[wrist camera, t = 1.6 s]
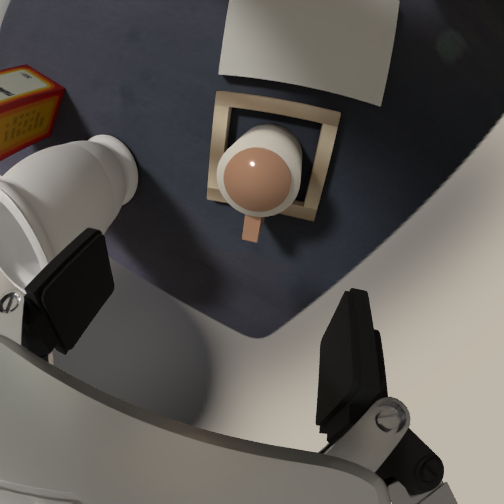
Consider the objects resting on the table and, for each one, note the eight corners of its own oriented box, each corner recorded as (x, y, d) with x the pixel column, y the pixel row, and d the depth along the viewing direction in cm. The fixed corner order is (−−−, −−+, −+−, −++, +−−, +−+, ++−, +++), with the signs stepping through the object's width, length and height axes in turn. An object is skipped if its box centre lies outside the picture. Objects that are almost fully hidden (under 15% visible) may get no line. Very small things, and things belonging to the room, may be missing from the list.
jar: (166, 169, 26) (63, 260, 14) (121, 228, 31) (43, 317, 19) (97, 105, 23) (-24, 155, 11) (64, 172, 28) (-27, 238, 16)
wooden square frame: (220, 90, 21) (216, 91, 20) (339, 112, 20) (340, 113, 19) (210, 194, 27) (206, 199, 26) (313, 216, 26) (313, 221, 25)
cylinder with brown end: (242, 118, 22) (218, 133, 17) (308, 130, 22) (308, 149, 16) (231, 203, 27) (209, 242, 21) (289, 215, 27) (283, 258, 21)
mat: (237, -27, 14) (235, -30, 13) (396, 3, 13) (399, 0, 12) (221, 74, 20) (218, 74, 19) (377, 105, 19) (380, 106, 18)
